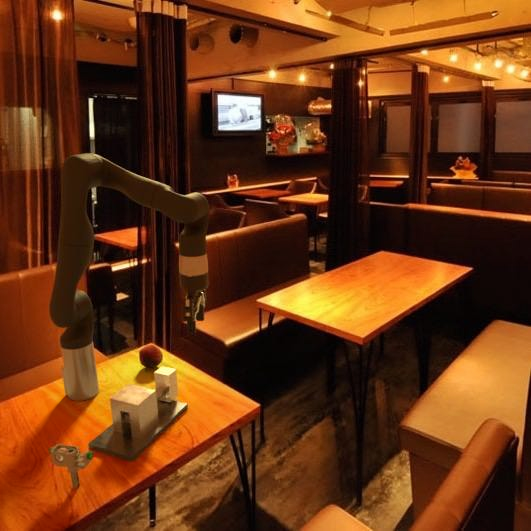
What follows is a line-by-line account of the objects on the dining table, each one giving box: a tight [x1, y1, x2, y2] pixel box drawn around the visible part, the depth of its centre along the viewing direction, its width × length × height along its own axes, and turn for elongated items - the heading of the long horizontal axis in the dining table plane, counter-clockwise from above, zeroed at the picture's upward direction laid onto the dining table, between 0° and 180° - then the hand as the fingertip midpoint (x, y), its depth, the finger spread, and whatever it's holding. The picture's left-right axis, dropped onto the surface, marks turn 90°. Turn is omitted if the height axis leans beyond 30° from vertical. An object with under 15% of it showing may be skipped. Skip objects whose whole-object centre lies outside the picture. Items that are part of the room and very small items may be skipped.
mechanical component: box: [48, 443, 94, 489], centre depth 115 cm, size 3×10×10 cm, turn 78°
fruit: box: [138, 344, 164, 370], centre depth 171 cm, size 8×8×8 cm
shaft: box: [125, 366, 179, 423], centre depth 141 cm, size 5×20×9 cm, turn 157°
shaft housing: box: [87, 383, 189, 463], centre depth 137 cm, size 14×26×12 cm, turn 157°
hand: (196, 326), depth 136 cm, fingers open, 8 cm apart
